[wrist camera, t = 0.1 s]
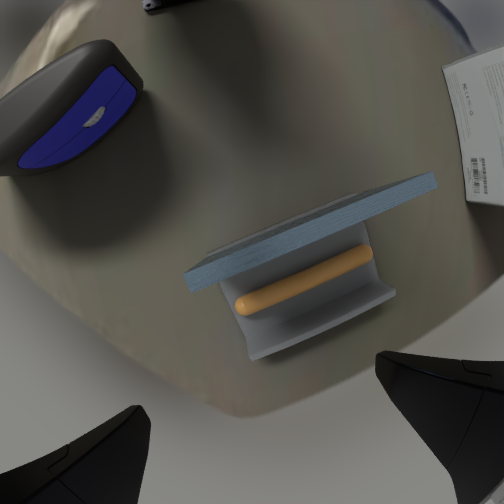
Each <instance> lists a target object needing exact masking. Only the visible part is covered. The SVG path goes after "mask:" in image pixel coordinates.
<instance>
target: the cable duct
mask: <svg viewBox="0 0 504 504" xmlns="http://www.w3.org/2000/svg"><path fill="white" fill-rule="evenodd" d="M355 195H358V194H355V193H352V194H349V195H347V196H344V197H342V198H339V199H337V200H334V201H332V202H329V203H327V204H324V205H322V206H319V207H317V208H314V209H312V210H309V211H307V212H304V213H302V214H300V215H297V216H295V217H292V218H290V219H287V220H285V221H282V222H280V223H278V224H275V225H273V226H270V227H268V228H266V229H263V230H261V231H258V232H256V233H254V234H251V235H249V236H246V237H244V238H242V239H239V240H237V241H234V242H232V243H230V244H227V245H225V246H223V247H220V248H218V249H215V250H213V251H211V252H208V253H207V254H206V257H208V256H210V255H212V254H215V253H217V252H220V251H222V250H224V249H227V248H229V247H231V246H234V245H236V244H239V243H241V242H243V241H246V240H248V239H250V238H253V237H255V236H258V235H260V234H262V233H265V232H267V231H270V230H272V229H274V228H277V227H279V226H282V225H284V224H287V223H289V222H291V221H294V220H296V219H299V218H301V217H304V216H306V215H308V214H311V213H313V212H316V211H318V210H321V209H323V208H326V207H328V206H331V205H333V204H335V203H338V202H340V201H343V200H345V199H348V198H350V197H353V196H355ZM219 284H220V286H221V288H222V290H223V292H224V294H225V296H226V299H227V301H228V303H229V305H230V307H231V309H232V311H233V313H234V315H235V317H236V319H237V321H238V323H239V325H240V327H241V329H242V331H243V333H244V335H245V337H246V343H247V349H248V355H249V358H250V360H251V361H254V360H257V359H259V358H262V357H265V356H267V355H270V354H272V353H275V352H277V351H280V350H282V349H285V348H287V347H289V346H292V345H294V344H296V343H299V342H301V341H303V340H306V339H308V338H310V337H313V336H315V335H317V334H319V333H321V332H324V331H326V330H328V329H330V328H332V327H334V326H337V325H339V324H341V323H343V322H345V321H347V320H349V319H351V318H353V317H355V316H357V315H359V314H361V313H363V312H365V311H367V310H369V309H371V308H373V307H375V306H377V305H379V304H381V303H382V302H384V301H386V300H388V299H390V298H392V297H394V296H395V295H396V291H395V289H394V288H393V287H391V286H390V285H388V284H387V283H385V282H384V281H382V280H381V279H379V277H378V273H377V269H376V264H375V260H374V256H373V251H372V249H371V245H370V241H369V237H368V234H367V230H366V227H365V223H364V220H363V221H361V222H358V223H356V224H354V225H352V226H349V227H347V228H345V229H342V230H340V231H338V232H335V233H333V234H331V235H328V236H326V237H324V238H322V239H319V240H317V241H315V242H312V243H310V244H308V245H305V246H303V247H300V248H298V249H296V250H293V251H291V252H289V253H286V254H284V255H282V256H279V257H277V258H275V259H272V260H270V261H267V262H265V263H263V264H260V265H258V266H255V267H253V268H251V269H248V270H246V271H243V272H241V273H239V274H236V275H234V276H231V277H229V278H227V279H224V280H222V281H219Z"/></svg>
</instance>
